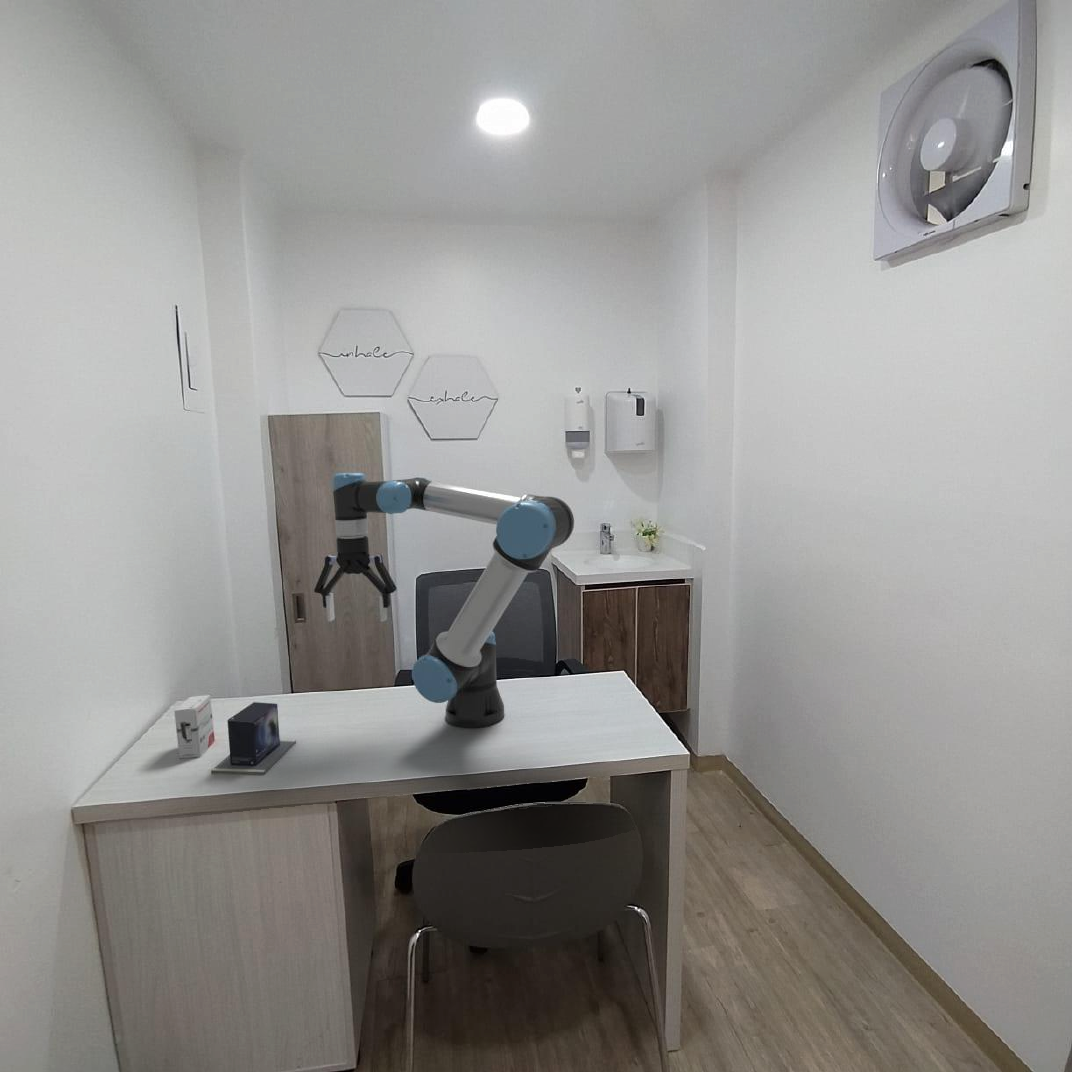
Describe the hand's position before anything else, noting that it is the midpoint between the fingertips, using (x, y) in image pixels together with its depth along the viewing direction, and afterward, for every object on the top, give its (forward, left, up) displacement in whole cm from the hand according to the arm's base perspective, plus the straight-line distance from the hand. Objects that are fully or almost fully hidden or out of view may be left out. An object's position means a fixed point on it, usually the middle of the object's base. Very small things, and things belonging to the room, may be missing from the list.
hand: (357, 620), depth 160 cm
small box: (+18, +20, -26) cm, 38 cm away
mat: (+18, +20, -27) cm, 38 cm away
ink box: (+34, +17, -27) cm, 47 cm away
